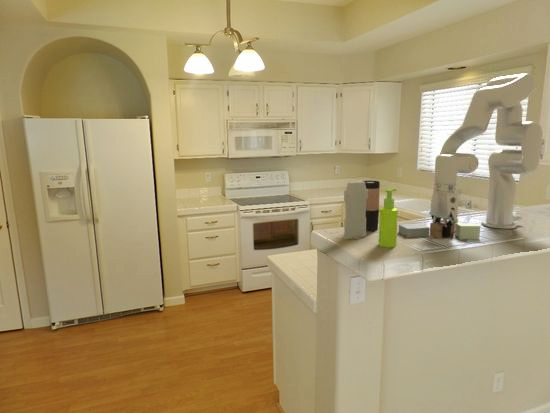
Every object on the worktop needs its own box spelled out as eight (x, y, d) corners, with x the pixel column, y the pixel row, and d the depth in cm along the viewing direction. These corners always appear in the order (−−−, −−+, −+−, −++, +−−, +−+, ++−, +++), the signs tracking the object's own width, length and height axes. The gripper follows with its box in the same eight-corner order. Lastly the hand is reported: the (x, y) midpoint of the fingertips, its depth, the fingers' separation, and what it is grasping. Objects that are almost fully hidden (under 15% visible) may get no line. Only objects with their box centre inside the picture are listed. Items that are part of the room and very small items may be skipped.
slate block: (419, 232, 148) (420, 223, 147) (429, 236, 141) (429, 227, 140) (398, 233, 146) (399, 224, 146) (406, 237, 140) (407, 228, 139)
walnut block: (445, 234, 142) (446, 221, 142) (453, 237, 138) (454, 224, 137) (429, 235, 141) (430, 223, 140) (437, 238, 137) (438, 225, 136)
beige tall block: (346, 240, 136) (347, 182, 132) (340, 238, 140) (341, 181, 136) (369, 237, 140) (371, 180, 136) (363, 234, 144) (364, 179, 140)
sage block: (474, 236, 139) (475, 223, 138) (479, 239, 135) (480, 226, 134) (454, 235, 140) (455, 223, 139) (459, 239, 136) (460, 226, 135)
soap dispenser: (399, 243, 131) (402, 188, 127) (391, 248, 126) (393, 191, 122) (384, 241, 135) (386, 187, 131) (375, 245, 130) (377, 189, 126)
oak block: (445, 228, 151) (446, 216, 150) (457, 230, 148) (458, 218, 147) (440, 232, 146) (440, 219, 145) (451, 233, 143) (452, 221, 142)
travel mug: (355, 228, 154) (356, 181, 151) (371, 226, 157) (372, 180, 153) (366, 232, 147) (367, 183, 144) (382, 230, 150) (383, 182, 146)
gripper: (470, 190, 129) (465, 240, 132) (438, 184, 145) (435, 229, 148) (451, 191, 127) (448, 241, 131) (421, 185, 143) (419, 230, 147)
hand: (441, 234), depth 139 cm, fingers closed on walnut block, 4 cm apart
